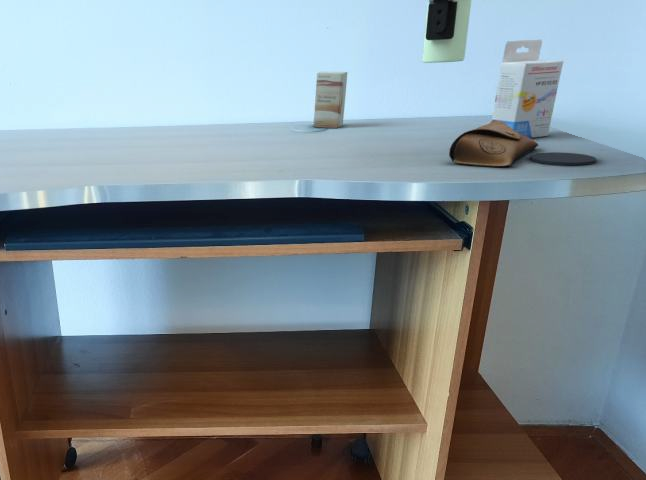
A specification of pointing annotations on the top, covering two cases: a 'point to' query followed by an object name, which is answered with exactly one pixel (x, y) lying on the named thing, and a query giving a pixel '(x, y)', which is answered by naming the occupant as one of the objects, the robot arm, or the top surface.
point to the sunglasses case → (490, 146)
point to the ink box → (526, 89)
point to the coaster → (563, 158)
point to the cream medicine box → (330, 99)
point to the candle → (449, 47)
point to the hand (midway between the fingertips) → (445, 37)
